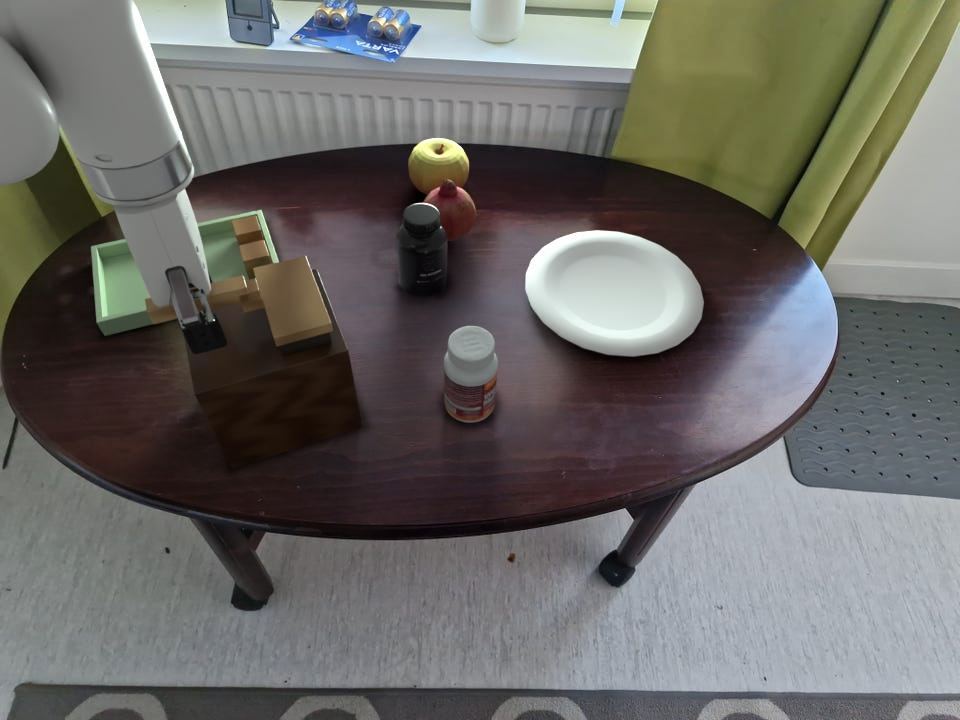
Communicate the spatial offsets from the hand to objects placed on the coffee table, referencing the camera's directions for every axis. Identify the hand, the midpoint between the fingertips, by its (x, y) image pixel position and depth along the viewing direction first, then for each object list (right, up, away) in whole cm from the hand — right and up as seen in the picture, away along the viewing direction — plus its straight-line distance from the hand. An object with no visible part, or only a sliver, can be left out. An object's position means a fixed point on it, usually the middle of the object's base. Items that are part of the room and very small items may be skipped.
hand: (203, 317), depth 63 cm
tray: (-14, +8, +28) cm, 32 cm away
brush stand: (+4, -9, +15) cm, 18 cm away
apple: (+20, +24, +43) cm, 53 cm away
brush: (+3, -1, +3) cm, 5 cm away
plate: (+46, +5, +29) cm, 54 cm away
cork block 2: (-4, +9, +28) cm, 30 cm away
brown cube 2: (-6, +13, +32) cm, 35 cm away
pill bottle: (+26, -10, +16) cm, 32 cm away
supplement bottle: (+19, +7, +29) cm, 35 cm away
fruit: (+22, +15, +35) cm, 44 cm away
